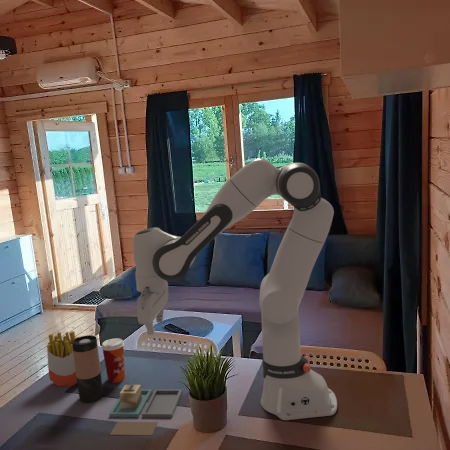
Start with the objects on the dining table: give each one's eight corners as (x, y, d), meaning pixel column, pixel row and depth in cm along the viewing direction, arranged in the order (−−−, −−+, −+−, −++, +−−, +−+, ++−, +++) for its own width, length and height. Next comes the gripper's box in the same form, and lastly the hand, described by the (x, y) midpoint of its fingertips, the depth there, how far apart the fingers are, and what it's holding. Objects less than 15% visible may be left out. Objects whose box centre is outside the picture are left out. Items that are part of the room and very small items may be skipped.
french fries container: (81, 385, 152) (74, 335, 150) (50, 387, 153) (43, 337, 150) (85, 379, 157) (79, 330, 154) (55, 380, 157) (49, 332, 155)
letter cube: (142, 399, 140) (140, 384, 139) (137, 408, 135) (135, 392, 134) (126, 399, 140) (125, 384, 140) (121, 408, 135) (119, 392, 135)
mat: (158, 424, 127) (157, 422, 127) (152, 437, 121) (151, 435, 121) (117, 423, 128) (117, 421, 128) (110, 436, 123) (109, 434, 122)
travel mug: (108, 396, 144) (101, 338, 141) (88, 407, 138) (80, 346, 135) (94, 389, 149) (87, 333, 146) (74, 400, 143) (66, 341, 140)
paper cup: (122, 386, 150) (117, 347, 148) (101, 385, 152) (96, 346, 150) (131, 374, 158) (127, 337, 156) (111, 374, 159) (107, 337, 157)
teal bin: (152, 393, 144) (152, 389, 144) (138, 418, 130) (138, 414, 130) (125, 393, 145) (125, 389, 145) (109, 418, 131) (109, 413, 131)
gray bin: (182, 393, 142) (182, 389, 142) (172, 419, 129) (171, 414, 129) (155, 393, 144) (155, 389, 143) (142, 418, 130) (141, 414, 130)
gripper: (151, 293, 120) (156, 341, 122) (170, 273, 140) (173, 315, 142) (129, 293, 121) (134, 342, 123) (150, 274, 141) (154, 315, 143)
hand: (155, 327), depth 133 cm, fingers open, 8 cm apart
